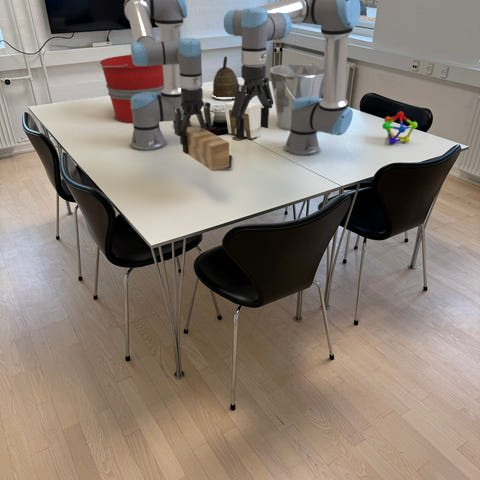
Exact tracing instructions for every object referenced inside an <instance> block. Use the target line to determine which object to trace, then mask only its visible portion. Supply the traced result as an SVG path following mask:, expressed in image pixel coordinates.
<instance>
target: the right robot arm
mask: <svg viewBox="0 0 480 480" xmlns="http://www.w3.org/2000/svg"><path fill="white" fill-rule="evenodd" d="M360 17H361V2H360V0H280V1H277V2H272V3H267V4H264V5H259V6H255V7H254V6H253V7H245V8H243V9H230V10H228V11H227V12H226V13H225V15H224V17H223V29H224V31H225V32H226V33H227V35H231V36H234V37H241V50H240V51H241V56H240V62H241V69H240V70H241V71H240V73H241V78H242V79H243V84H240V83H238V85H237V93H236V97H235V99H234V102H233V105H232V108H231V113H230V117H231V118H233V119H235V138H237V139H241V140H245V118H244V115H245V113H246V112H247V108H248V107H249V104H250V102H251V100H253V98H255V97H257V99H258V101H259V102H260V104H261V107H260V125H259V126H260V128H263V129H269V121H270V120H269V117H270V109H273V105H274V104H275V101H274V97H273V95H272V91H271V86H270V79H269V77H266V76H267V66H266V64H267V43H268V42H271V41H276V40H278V41H280V40H282V39H284V38H286V37H288V36H289V35H290V34H291V32H292V29H293V28H292V27H293V25H299V24H306V25H307V24H308V25H314V26H320V34H321V35H322V36H323V37H324V56H323V67H324V83H323V94H322V98H321V100H320V99H319V98H318V97H302V98H298V99H295V100H294V101H293V104H292V109H291V110H292V113H291V130H289V131H290V132H289V135H288V137H287V140H286V142H285V145H284V146H285V147H284V149H285V151H286V152H288V153H290V154H292V155H297V156H311V155H314V154H317V153H318V152H319V150H320V144H319V140H318V136H317V135H318V134H317V132H321V133H325V134H328V135H332V136H342V135H344V134H345V133H346V132H347V130H348V129H349V127H350V125H351V124H352V120H353V114H354V112H353V109H352V108H350V107H349V106H348V105H349V101H348V99H347V98H345V95H346V78H347V63H348V62H347V61H348V45H349V36H350V35H351V34H352V33H353V31H354V28H355V27H357V25H358V24H359V22H360V21H359V19H360Z"/></svg>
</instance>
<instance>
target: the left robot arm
mask: <svg viewBox="0 0 480 480" xmlns="http://www.w3.org/2000/svg"><path fill="white" fill-rule="evenodd" d="M123 10H124V15H125V17H126V19H127V20H128V21H129V24H130V29H131V34H132V38H133V42H132V43H130V54H131V55H132V61H133V64H134V65H135V66H153V65H162V67H163V79H164V87H163V89H162V90H161V95H157V94H156V92H153V91H151V92H150V91H147V92H141V93H138V94H135V95H134V96H132V98H131V109H132V117H133V123H132V125H133V132H132V135H131V142H130V143H131V147H132V148H134V149H135V150H141V151H151V150H153V151H154V150H157V149H161V148H163V147H164V146H165V144H166V140H165V137H164V135H163V132H162V130H161V127H160V123H162V122H174V134H175V135H176V136H177V137H179V143H180V145H181V146H182V152H183V153H184V154H185V155H188V141H187V136H185V134H186V131H187V127H189V123H190V119H191V118H192V116H194V115H195V116H196V118H197V121H198V123H199V126H200V127H202V128H204V129H206V130H207V131H209V132H210V131H211V130H212V129H213V125H212V116H211V105H212V104H211V103H210V102H208V101H204V100H203V98H204V93H203V92H204V91H203V70H202V68H203V67H202V66H203V65H202V52H203V51H202V44H201V40H200V39H199V38H194V37H183V38H181V37H182V36H181V27H182V26H183V25H184V19H186V18H187V17H188V7H187V1H186V0H124V3H123ZM151 19H153V20H154V23H155V25H156V26H157V27H158V29H159V39H160V41H157V40H156V35H155V32H154V29H153V26H152V25H153V24H152V22H151ZM202 109H203V111H202ZM203 114H204V115H203ZM203 116H204V117H203Z"/></svg>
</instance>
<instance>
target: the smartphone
mask: <svg viewBox="0 0 480 480" xmlns="http://www.w3.org/2000/svg"><path fill="white" fill-rule="evenodd" d="M232 156H233V155H231V154H229V167H226V168H223V169H219V170H218V171H229V170H231V169H232Z"/></svg>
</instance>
